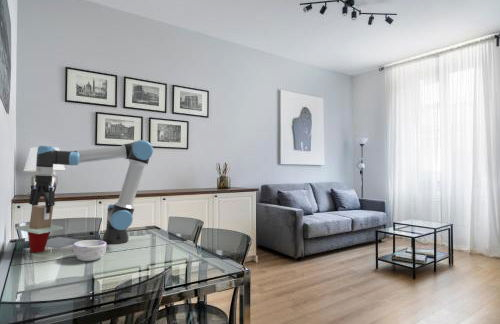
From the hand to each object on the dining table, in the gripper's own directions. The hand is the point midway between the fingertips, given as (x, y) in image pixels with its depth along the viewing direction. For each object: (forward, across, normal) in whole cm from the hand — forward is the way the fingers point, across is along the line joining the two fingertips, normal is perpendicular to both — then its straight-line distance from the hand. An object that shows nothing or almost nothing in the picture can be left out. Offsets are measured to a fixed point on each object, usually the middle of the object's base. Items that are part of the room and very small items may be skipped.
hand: (40, 218), depth 162 cm
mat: (+17, -5, +18) cm, 26 cm away
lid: (+5, 0, 0) cm, 5 cm away
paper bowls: (+18, +30, +2) cm, 35 cm away
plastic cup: (+18, 0, 0) cm, 18 cm away
